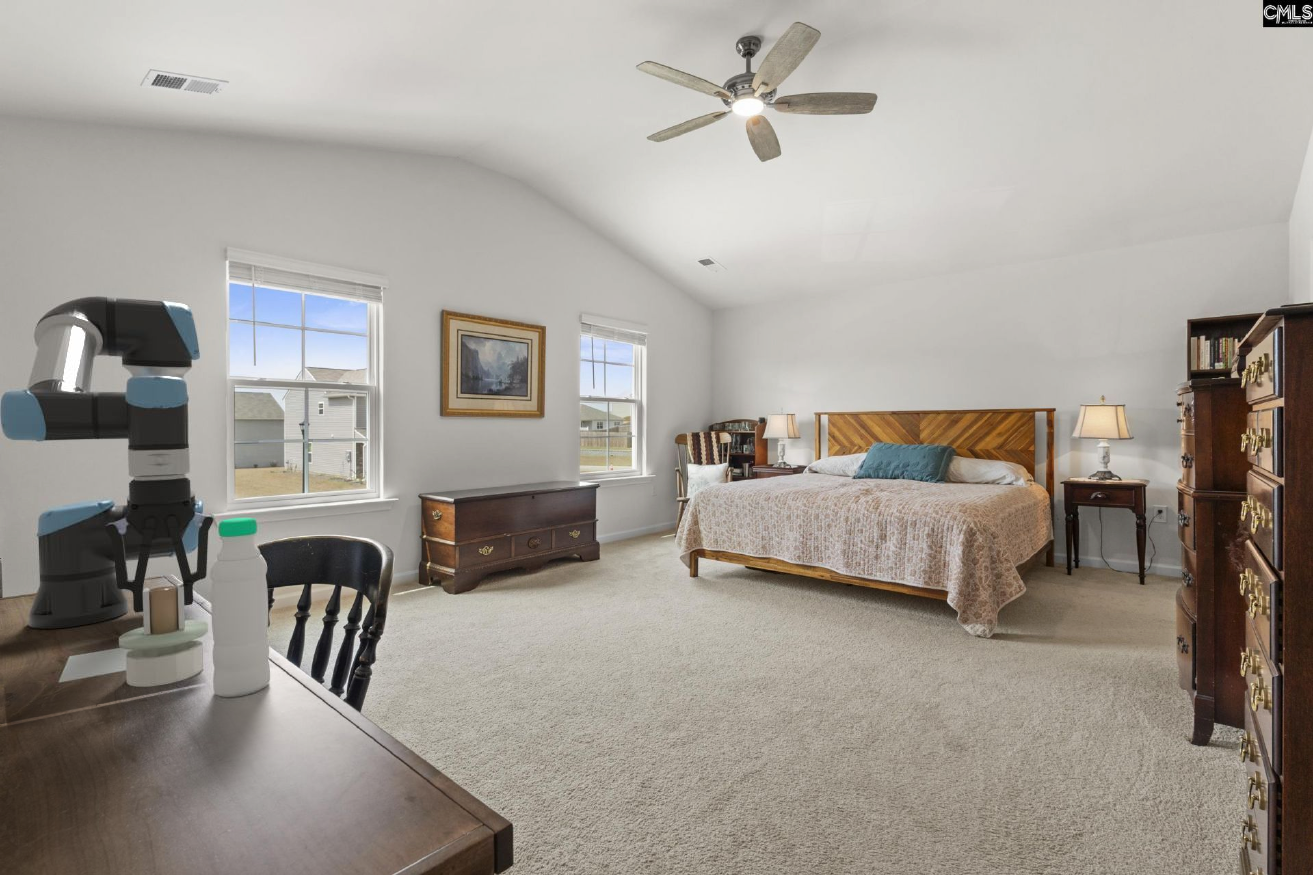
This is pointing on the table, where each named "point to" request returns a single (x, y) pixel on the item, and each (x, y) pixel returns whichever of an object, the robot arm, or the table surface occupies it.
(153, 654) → the bowl
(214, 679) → the water bottle
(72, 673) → the mat
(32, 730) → the table surface
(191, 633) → the lid
